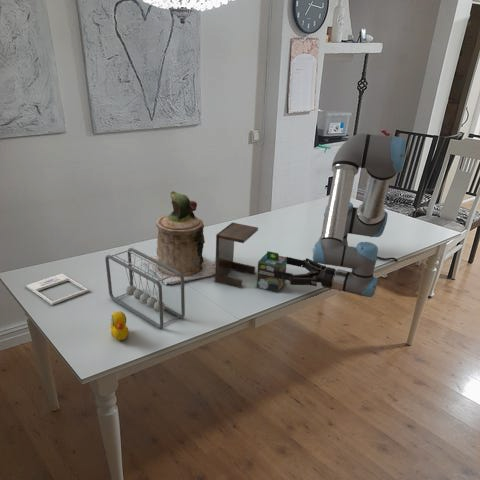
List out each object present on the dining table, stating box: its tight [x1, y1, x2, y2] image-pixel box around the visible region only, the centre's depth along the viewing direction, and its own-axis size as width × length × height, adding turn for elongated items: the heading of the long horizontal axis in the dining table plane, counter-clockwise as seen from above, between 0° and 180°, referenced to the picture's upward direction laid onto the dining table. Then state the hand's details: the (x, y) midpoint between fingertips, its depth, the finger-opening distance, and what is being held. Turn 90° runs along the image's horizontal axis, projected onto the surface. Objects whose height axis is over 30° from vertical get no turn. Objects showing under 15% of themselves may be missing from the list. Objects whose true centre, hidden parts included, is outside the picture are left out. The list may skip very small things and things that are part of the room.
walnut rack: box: [214, 222, 259, 289], centre depth 185 cm, size 11×15×20 cm
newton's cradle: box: [104, 247, 186, 329], centre depth 161 cm, size 30×10×18 cm, turn 48°
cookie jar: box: [143, 190, 216, 286], centre depth 186 cm, size 25×25×32 cm
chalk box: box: [256, 250, 288, 293], centre depth 182 cm, size 9×9×15 cm
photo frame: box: [26, 273, 89, 306], centre depth 174 cm, size 15×1×18 cm
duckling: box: [110, 311, 130, 341], centre depth 147 cm, size 11×5×10 cm, turn 20°
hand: (280, 266), depth 180 cm, fingers open, 13 cm apart
